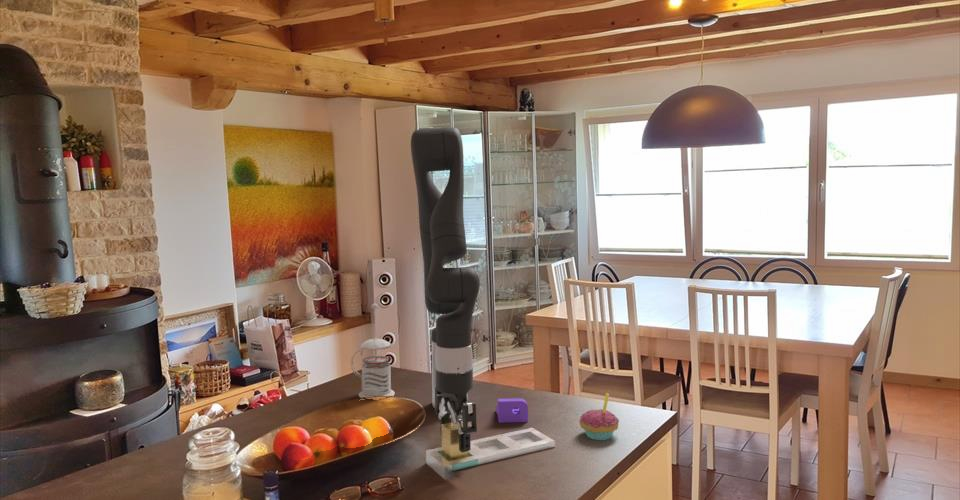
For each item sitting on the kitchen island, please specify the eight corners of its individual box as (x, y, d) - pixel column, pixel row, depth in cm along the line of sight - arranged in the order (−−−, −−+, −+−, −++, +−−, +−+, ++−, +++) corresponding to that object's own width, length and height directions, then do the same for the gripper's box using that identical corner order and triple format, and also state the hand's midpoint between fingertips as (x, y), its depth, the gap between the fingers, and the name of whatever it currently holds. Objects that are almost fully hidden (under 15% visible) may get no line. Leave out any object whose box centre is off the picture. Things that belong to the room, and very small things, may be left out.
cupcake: (620, 437, 156) (621, 385, 155) (615, 451, 148) (616, 397, 147) (582, 432, 159) (583, 382, 158) (575, 446, 151) (576, 393, 150)
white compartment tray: (426, 463, 143) (425, 450, 143) (532, 439, 156) (532, 427, 155) (445, 480, 135) (444, 466, 135) (555, 453, 148) (555, 441, 147)
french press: (392, 399, 184) (390, 306, 181) (348, 400, 184) (345, 307, 181) (397, 388, 193) (395, 300, 191) (355, 388, 194) (353, 300, 191)
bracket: (528, 429, 163) (527, 400, 162) (498, 430, 162) (498, 401, 162) (523, 412, 175) (522, 385, 174) (495, 412, 174) (495, 386, 174)
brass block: (441, 457, 142) (441, 424, 141) (459, 453, 144) (458, 420, 143) (450, 464, 139) (450, 430, 138) (468, 460, 141) (467, 427, 140)
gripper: (422, 360, 144) (424, 435, 146) (453, 378, 131) (454, 460, 133) (455, 355, 147) (456, 429, 149) (487, 372, 135) (488, 452, 137)
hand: (455, 443), depth 141 cm, fingers open, 8 cm apart
